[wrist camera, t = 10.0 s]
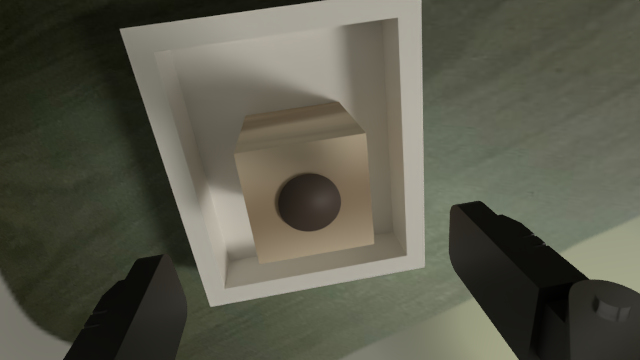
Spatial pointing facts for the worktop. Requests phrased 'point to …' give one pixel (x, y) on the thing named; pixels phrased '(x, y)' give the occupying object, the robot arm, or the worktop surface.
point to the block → (305, 181)
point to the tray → (280, 94)
